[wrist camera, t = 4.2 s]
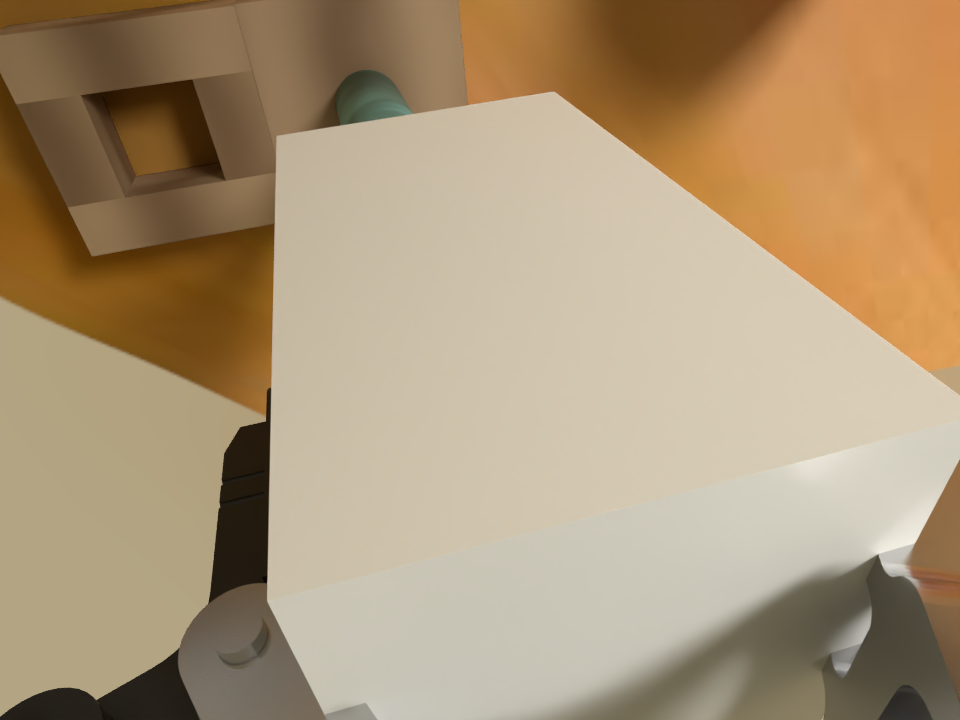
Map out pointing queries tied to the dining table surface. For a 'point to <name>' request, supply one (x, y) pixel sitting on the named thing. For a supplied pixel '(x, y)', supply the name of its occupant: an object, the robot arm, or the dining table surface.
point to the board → (352, 59)
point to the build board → (94, 139)
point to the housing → (568, 433)
